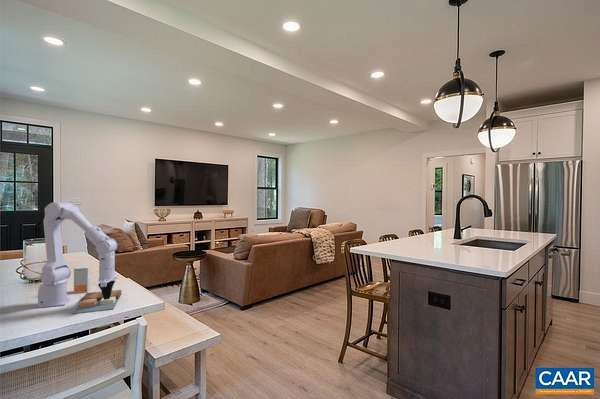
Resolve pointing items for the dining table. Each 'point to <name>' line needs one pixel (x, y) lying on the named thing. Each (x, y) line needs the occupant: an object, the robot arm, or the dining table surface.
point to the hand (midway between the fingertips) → (106, 298)
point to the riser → (101, 295)
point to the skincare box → (82, 279)
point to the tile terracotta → (88, 302)
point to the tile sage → (108, 300)
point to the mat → (95, 307)
